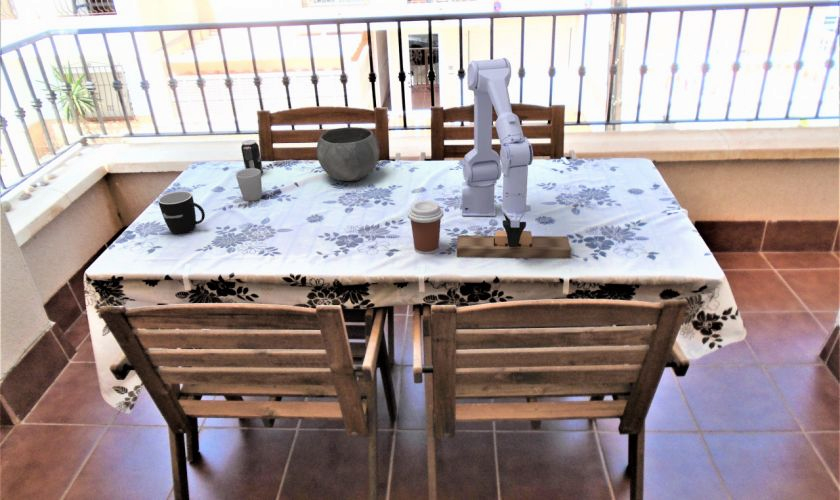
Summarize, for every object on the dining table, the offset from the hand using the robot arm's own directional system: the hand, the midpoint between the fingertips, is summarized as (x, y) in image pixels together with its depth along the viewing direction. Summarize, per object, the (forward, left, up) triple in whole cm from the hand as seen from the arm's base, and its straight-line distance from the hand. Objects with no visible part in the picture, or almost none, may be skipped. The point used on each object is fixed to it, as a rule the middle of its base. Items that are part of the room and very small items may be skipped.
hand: (512, 240), depth 151 cm
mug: (-91, +10, -3) cm, 92 cm away
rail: (0, 0, -3) cm, 3 cm away
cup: (-80, +34, -3) cm, 87 cm away
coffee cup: (-22, +1, -3) cm, 22 cm away
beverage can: (-86, +52, -3) cm, 101 cm away
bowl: (-52, +50, -3) cm, 72 cm away
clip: (0, 0, -3) cm, 3 cm away
